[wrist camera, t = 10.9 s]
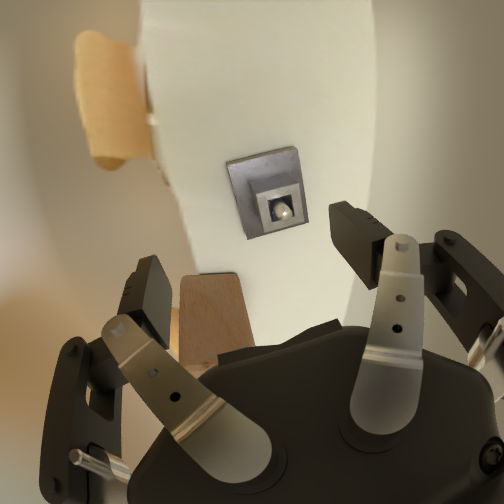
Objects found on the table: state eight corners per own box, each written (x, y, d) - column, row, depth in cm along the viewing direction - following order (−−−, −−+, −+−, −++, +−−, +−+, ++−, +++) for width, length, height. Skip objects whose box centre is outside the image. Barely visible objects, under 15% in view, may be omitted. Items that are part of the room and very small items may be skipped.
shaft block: (226, 162, 37) (233, 180, 30) (292, 146, 38) (317, 159, 30) (245, 233, 44) (256, 265, 36) (304, 217, 44) (326, 244, 37)
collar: (249, 182, 37) (255, 194, 33) (287, 172, 38) (298, 183, 33) (257, 217, 40) (264, 232, 36) (293, 207, 41) (304, 221, 36)
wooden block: (180, 273, 46) (177, 372, 29) (238, 270, 47) (262, 366, 31) (185, 315, 51) (188, 408, 34) (237, 312, 52) (256, 402, 36)
